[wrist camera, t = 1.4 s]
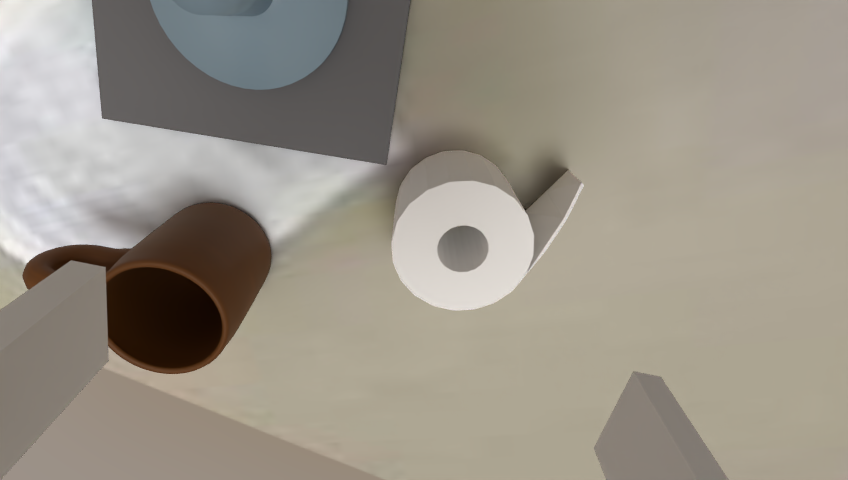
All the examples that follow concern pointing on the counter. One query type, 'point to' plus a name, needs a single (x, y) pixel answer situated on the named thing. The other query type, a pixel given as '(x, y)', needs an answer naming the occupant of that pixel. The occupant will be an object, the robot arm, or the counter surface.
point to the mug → (175, 286)
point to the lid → (253, 37)
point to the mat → (257, 109)
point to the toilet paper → (471, 229)
